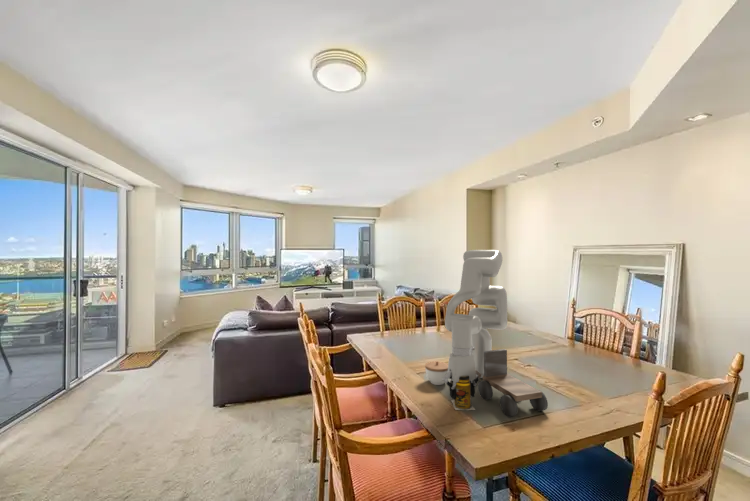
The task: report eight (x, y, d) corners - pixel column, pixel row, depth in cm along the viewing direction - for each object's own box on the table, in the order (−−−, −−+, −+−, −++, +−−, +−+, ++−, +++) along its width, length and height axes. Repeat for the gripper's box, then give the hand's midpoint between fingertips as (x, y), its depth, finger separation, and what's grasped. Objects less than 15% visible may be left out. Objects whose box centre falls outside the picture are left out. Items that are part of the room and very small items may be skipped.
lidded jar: (431, 388, 144) (431, 366, 144) (421, 379, 154) (421, 359, 154) (453, 385, 147) (453, 364, 147) (442, 376, 157) (442, 356, 157)
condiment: (455, 410, 124) (455, 378, 124) (450, 400, 132) (450, 370, 132) (475, 410, 124) (474, 378, 124) (469, 400, 132) (468, 370, 132)
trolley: (478, 395, 136) (477, 351, 136) (509, 390, 140) (508, 348, 140) (512, 420, 116) (512, 368, 116) (547, 414, 120) (547, 364, 120)
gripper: (476, 346, 134) (476, 390, 134) (436, 350, 129) (437, 395, 129) (487, 351, 127) (487, 397, 127) (446, 356, 122) (446, 404, 122)
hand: (462, 396), depth 128 cm, fingers open, 7 cm apart
